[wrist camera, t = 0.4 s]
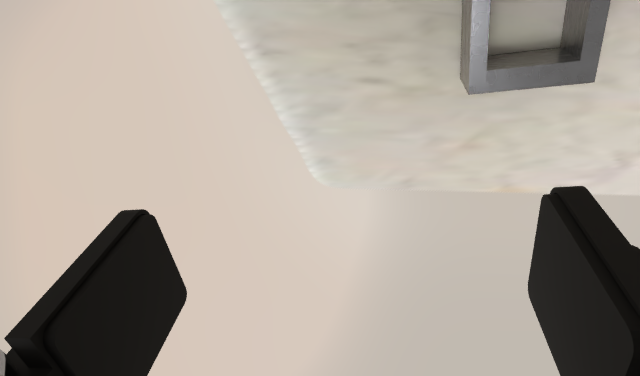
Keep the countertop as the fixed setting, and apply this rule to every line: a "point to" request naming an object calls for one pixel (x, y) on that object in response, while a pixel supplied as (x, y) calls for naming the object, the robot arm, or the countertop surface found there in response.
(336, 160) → the countertop surface
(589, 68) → the grey compartment tray
